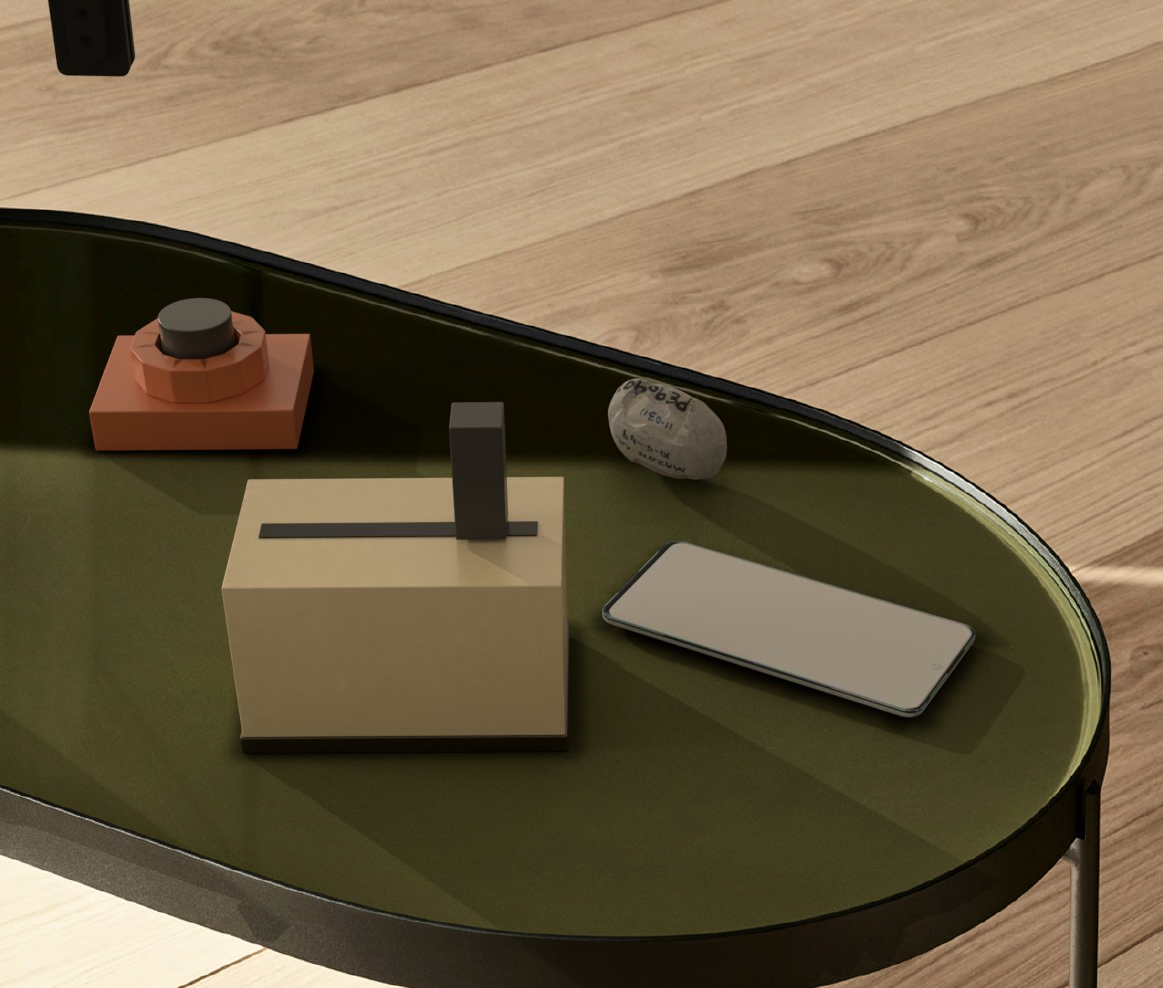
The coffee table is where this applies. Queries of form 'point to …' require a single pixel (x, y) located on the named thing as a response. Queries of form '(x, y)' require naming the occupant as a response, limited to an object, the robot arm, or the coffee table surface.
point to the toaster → (397, 619)
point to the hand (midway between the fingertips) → (97, 68)
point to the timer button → (196, 329)
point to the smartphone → (792, 627)
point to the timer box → (204, 393)
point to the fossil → (667, 430)
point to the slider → (479, 470)
